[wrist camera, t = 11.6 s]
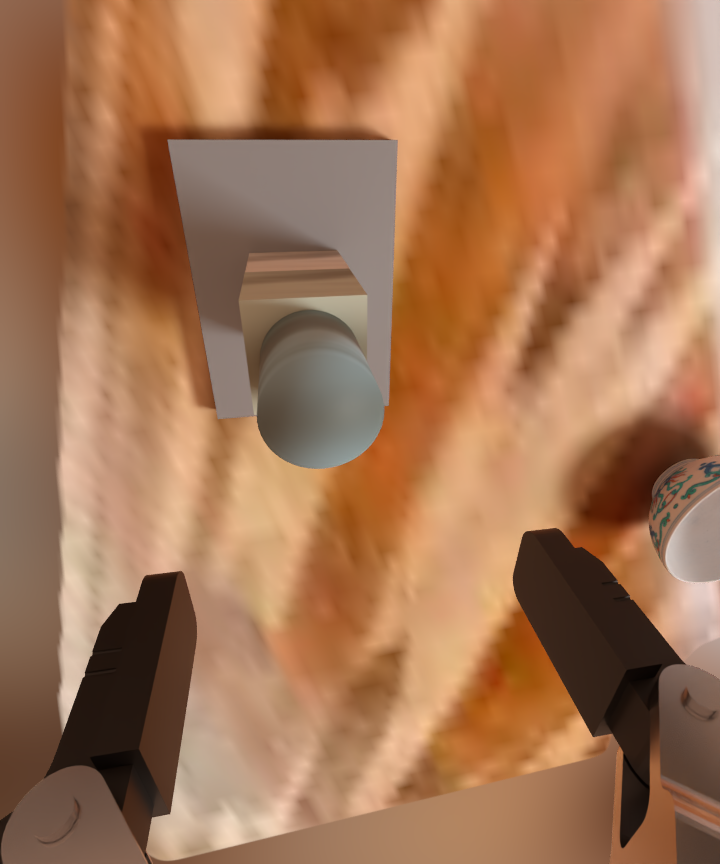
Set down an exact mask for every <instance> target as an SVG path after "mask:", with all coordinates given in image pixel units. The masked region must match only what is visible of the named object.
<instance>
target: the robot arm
mask: <svg viewBox="0 0 720 864" xmlns="http://www.w3.org/2000/svg"><path fill="white" fill-rule="evenodd" d="M513 586H514V591H515V594H516V597H517V599H518V601H519V603H520V605H521V607H522V609H523V610H524V612H525V614H526V616H527V618H528V620H529V621H530V623H531V625H532V627H533V629H534V631H535V632H536V634H537V636H538V638H539V640H540V641H541V643H542V645H543V647H544V649H545V651H546V652H547V654H548V656H549V658H550V660H551V661H552V663H553V665H554V667H555V669H556V671H557V672H558V674H559V676H560V678H561V680H562V682H563V683H564V685H565V687H566V689H567V691H568V692H569V694H570V696H571V698H572V700H573V702H574V703H575V705H576V707H577V709H578V711H579V713H580V714H581V716H582V718H583V720H584V722H585V723H586V725H587V727H588V729H589V731H590V733H591V734H592V736H593V737H596V736H602V735H607V734H613V735H614V737H615V739H616V740H617V742H618V744H619V745H620V746H619V748H618V751H617V760H616V778H615V797H614V815H613V833H612V849H611V856H610V861H609V864H720V680H719V679H718V678H717V677H715V676H714V675H712V674H710V673H708V672H706V671H704V670H701V669H700V668H697V667H694V666H690V665H686V664H685V663H684V662H683V661H682V660H681V659H680V657H679V656H678V655H677V654H676V653H675V651H674V650H673V649H672V648H671V646H670V645H669V644H668V643H667V641H666V640H665V639H664V638H663V636H662V635H661V634H660V633H659V631H658V630H657V629H656V628H655V626H654V625H653V624H652V623H651V622H650V620H649V619H648V618H647V617H646V615H645V614H644V613H643V612H642V610H641V609H640V608H639V607H638V605H637V604H636V603H635V602H634V600H631V599H630V595H629V594H628V593H627V592H626V590H625V589H624V588H623V587H622V586H621V584H618V582H617V579H616V578H615V577H614V576H613V574H612V573H611V572H610V571H609V569H608V568H607V567H606V566H605V564H604V563H603V562H602V561H600V560H599V559H598V558H596V557H595V556H593V555H592V554H591V553H589V552H588V551H587V550H585V549H584V548H582V547H580V548H574V547H573V545H572V544H571V543H570V541H569V540H568V539H567V538H566V536H565V535H564V534H563V532H562V531H560V530H559V529H557V528H552V529H543V530H535V531H527V532H525V533H524V534H523V537H522V540H521V544H520V548H519V552H518V557H517V561H516V565H515V569H514V573H513ZM196 640H197V624H196V616H195V612H194V608H193V605H192V601H191V597H190V594H189V590H188V587H187V583H186V579H185V576H184V574H183V572H182V571H179V572H170V573H162V574H153V575H146V576H145V577H144V579H143V581H142V584H141V587H140V590H139V594H138V597H137V600H136V602H131V603H123V604H119V605H118V606H117V607H116V609H115V610H114V611H113V612H112V614H111V615H110V616H109V617H108V619H107V620H106V621H105V622H104V624H103V625H102V626H101V629H100V631H99V634H98V637H97V640H96V643H95V645H94V648H93V651H92V652H93V655H92V656H91V657H90V659H89V662H88V665H87V668H86V671H85V677H84V678H83V679H82V682H81V684H80V687H79V690H78V693H77V696H76V698H75V701H74V704H73V707H72V710H71V712H70V715H69V718H68V721H67V724H66V726H65V729H64V732H63V735H62V738H61V740H60V743H59V746H58V749H57V752H56V755H55V757H54V760H53V762H52V764H51V767H50V769H49V770H48V772H47V774H46V776H45V777H44V779H43V780H42V781H40V783H38V784H37V785H36V786H34V787H33V788H32V789H31V790H30V791H29V793H27V794H26V795H25V797H24V798H23V799H22V800H21V802H20V803H19V804H18V805H17V807H16V809H15V810H14V811H13V812H12V813H10V814H9V815H7V816H6V817H5V818H3V819H2V820H0V864H153V863H152V861H151V859H150V857H149V855H148V853H147V851H146V847H147V841H148V836H149V830H150V824H151V819H152V817H157V816H162V815H167V814H170V812H171V806H172V799H173V792H174V786H175V779H176V773H177V766H178V760H179V753H180V747H181V740H182V733H183V727H184V720H185V714H186V707H187V701H188V694H189V688H190V681H191V674H192V668H193V661H194V655H195V648H196Z"/></svg>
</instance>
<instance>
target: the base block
mask: <svg viewBox="0 0 720 864" xmlns="http://www.w3.org/2000/svg"><path fill="white" fill-rule="evenodd" d="M347 268H349V267H348V265H347V264H346V262H345V261H344V259H343V258H342V256H341V255H340V254H339V252H338V251H337V250H331V251H299V252H267V253H249V256H248V261H247V266H246V270H245V272H265V271H292V270H320V269H347ZM349 269H350V268H349Z"/></svg>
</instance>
